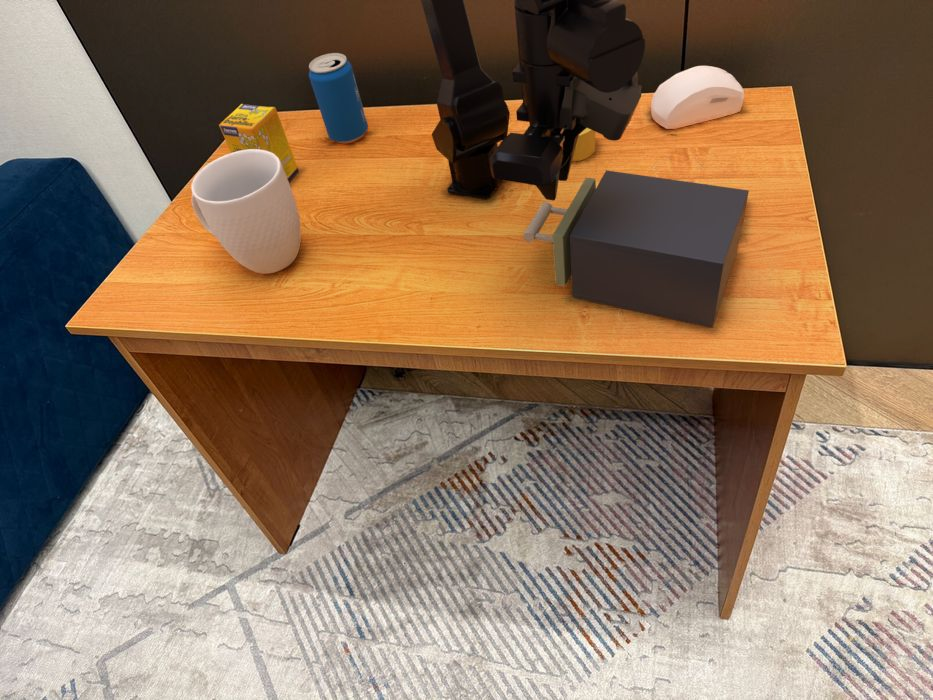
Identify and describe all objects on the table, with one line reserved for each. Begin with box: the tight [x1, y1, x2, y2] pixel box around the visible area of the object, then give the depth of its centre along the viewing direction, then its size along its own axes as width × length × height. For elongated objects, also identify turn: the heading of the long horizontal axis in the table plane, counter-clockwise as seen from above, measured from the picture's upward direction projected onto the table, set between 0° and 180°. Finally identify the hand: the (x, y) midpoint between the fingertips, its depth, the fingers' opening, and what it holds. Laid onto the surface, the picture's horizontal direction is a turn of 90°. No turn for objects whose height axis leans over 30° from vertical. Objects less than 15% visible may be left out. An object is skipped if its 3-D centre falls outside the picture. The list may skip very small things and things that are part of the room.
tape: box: [572, 128, 596, 163], centre depth 98 cm, size 6×6×4 cm
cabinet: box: [570, 170, 750, 329], centre depth 76 cm, size 16×12×9 cm
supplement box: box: [218, 103, 300, 183], centre depth 101 cm, size 6×6×11 cm
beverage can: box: [308, 52, 369, 144], centre depth 106 cm, size 6×6×12 cm
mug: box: [190, 149, 302, 275], centre depth 88 cm, size 15×11×13 cm
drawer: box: [522, 176, 597, 287], centre depth 78 cm, size 19×11×7 cm, turn 64°
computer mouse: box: [650, 65, 745, 130], centre depth 99 cm, size 6×13×6 cm, turn 102°
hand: (556, 189), depth 77 cm, fingers open, 3 cm apart
